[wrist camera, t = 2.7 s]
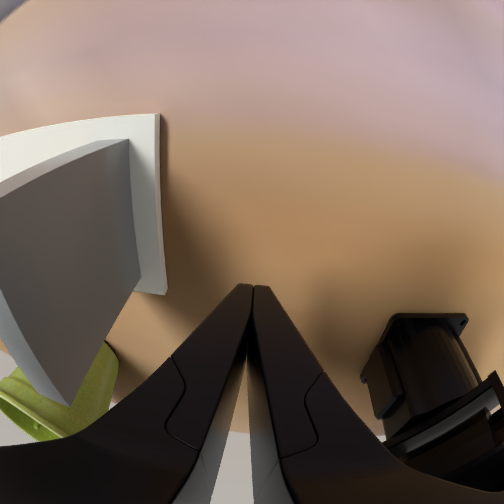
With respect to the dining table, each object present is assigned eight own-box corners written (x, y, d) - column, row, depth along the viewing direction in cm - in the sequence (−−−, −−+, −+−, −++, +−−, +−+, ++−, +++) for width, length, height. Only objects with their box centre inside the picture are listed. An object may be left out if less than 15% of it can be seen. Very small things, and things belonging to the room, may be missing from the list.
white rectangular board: (159, 113, 11) (154, 114, 10) (167, 288, 15) (164, 295, 14) (-21, 142, 11) (-27, 145, 10) (4, 260, 15) (-1, 264, 15)
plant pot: (89, 385, 22) (58, 457, 15) (24, 313, 18) (-27, 386, 10) (161, 382, 20) (133, 480, 12) (85, 290, 16) (14, 397, 8)
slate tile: (128, 138, 11) (-25, 213, 4) (141, 277, 14) (70, 407, 7) (97, 140, 11) (-51, 212, 4) (114, 273, 14) (37, 393, 7)
